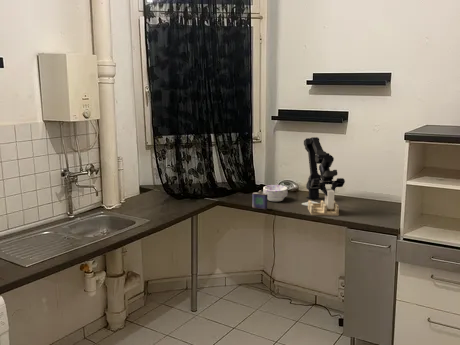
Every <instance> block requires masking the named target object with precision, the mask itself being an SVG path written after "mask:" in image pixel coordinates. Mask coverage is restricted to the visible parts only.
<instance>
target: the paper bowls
mask: <svg viewBox="0 0 460 345" xmlns="http://www.w3.org/2000/svg"><path fill="white" fill-rule="evenodd" d="M262 190H263V191H262V193H265V194H267V201H270V202H281V201H284V199H285V198H286V197H288V190H289V189H288V187H287V186H285V185H282V184H268V185H265V186H263V189H262Z"/></svg>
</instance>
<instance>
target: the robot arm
mask: <svg viewBox="0 0 460 345" xmlns="http://www.w3.org/2000/svg"><path fill="white" fill-rule="evenodd" d="M303 146H304V149H305V150H306V152H307V155H308V164H309V165H308V166H309V177H308V179H307V182H306V184H305V186H306V189H307V190H308V196H306V199H308V200H311V201H314V200H321V197H320V191H321V192H322V193H323V195H324V196H325V195H326V196H327V190H326V189H327V187H326V185H331V187H330V189H332V190H333V191H336V189H337V188H342V187H343V186H344V185H345V182H346V180H345V179H344V177H338V178H336V180H334V177H336V176H338V170H337V169H332V170H331V169H330V168H331V167H332V165H333V163H334V160H335V158H334V157H333V155H331V154H330V153H328V152H327V151H325V150H324V149H323V147H322V145H321V143H320V138H319V137H317V136H316V137H315V136H314V137H309V138H307V137H306V138H305V139H304V140H303ZM318 165H319V166H318ZM318 170H319V172H318Z"/></svg>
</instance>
